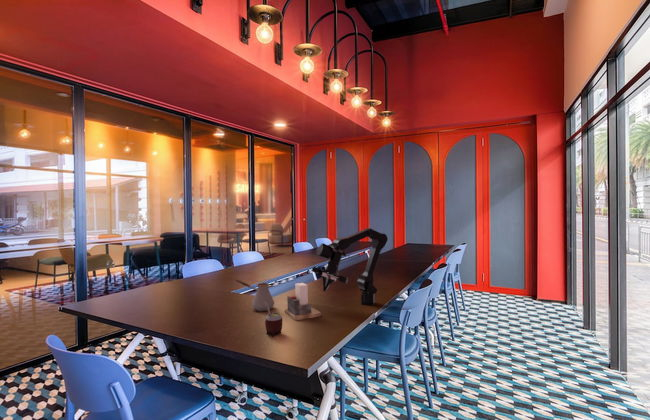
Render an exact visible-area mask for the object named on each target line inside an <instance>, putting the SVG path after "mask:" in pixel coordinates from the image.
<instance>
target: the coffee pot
mask: <svg viewBox="0 0 650 420" xmlns="http://www.w3.org/2000/svg"><path fill="white" fill-rule="evenodd" d="M236 283H239V284H241V285H243V286H246V287H248V288H251V289H253V290H255V291H256V293H255V295H254V297H253V300H252V303H251V306H252V308H253V309H254V310H255V311H258V312H265V311H268V308H267V306H266V304H265V303H264V302H266V303H267V304H268V306H269V310H271V309H272V308H273V307H274V305H275V301H274V298H273V296H272V295H271V292H270V290H269V286H270V283H268V282H261V283H260V282H259V283H256V286H257V288H256V287H254V286H251V285H250V284H248V283H247V282H243V281H241V280H238V279H235V281H234V284H236ZM263 301H264V302H263Z"/></svg>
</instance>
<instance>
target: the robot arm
mask: <svg viewBox="0 0 650 420" xmlns="http://www.w3.org/2000/svg"><path fill="white" fill-rule="evenodd" d="M366 238H369V239H370V240H371V246H372V247H371V251H370V253H369V257H368V259H367V263H366V266H365V269H364V271H363V273H362V274H358V278H357V280H356V282H357V286H358V288H359V289H360V291H361V295H360V303H361V305H365V306H366V305H367V306H374V305H375V304H376V298H375V296H376V294H377V292H378V289H377V288H376V287H375V285H374V283H375V282H374V281H375V280H374V272H375V270H376V266H377V264H378V261H379V257H380V254H381V251H382V250H383V249H384V247H385V246H386V245H387V243H388V241H389V240H388V235H387V234H386V233H383V232H382V233H381V232H379V231H377V230H374V229H373V228H369V227H366V228H364V229H362V230H360V231H357V232H355V233H353V234H350V235H348V236H342V237H337V238H335V239H334V240H333V242H332V243H330V244H326V243H324V242H323V243H321V244H320V245H319V246H318V247H317V249H316V256H318V257H320V258H323V259H326V260H328V259H329V260H328V262H327V265H326V267H325V269H324V270H323V268H320V267H317V266H313V267H312V268H311V270H310V271H311V272H313V273H316V274H318V275H320V277H322V283H323V292H326V291H327V290H328V289H329V287H330V286H331V284H333V283H334V282H335V283H336V282H337V280H338V282H340V283H344V284H348V282H349V278H348V277H346V276H343V275H339V274H340V273H339V272H340V271H339V267H340V264H341V261H342V257H347V255H346V252H345V250H347V249H348V248H349V247H350V246H351V245H352V244H354V243H356V242H359V241H361V240H363V239H366ZM329 277H330V278H329Z"/></svg>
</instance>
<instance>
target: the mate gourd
mask: <svg viewBox="0 0 650 420" xmlns="http://www.w3.org/2000/svg"><path fill="white" fill-rule="evenodd" d="M263 302H264V301H263ZM264 303H265V304H266V306H267V308H268V310H267V311H268V314H267V315H266V317H265V321H264V323H265V324H264V325H265V330H266V333H265V334H266V335H271V337H275V336H276V335H282V329H283V316H282V315H281V314H280V313H278V312H272V313H271V311H270V310H271V309H270V310H269V306H268V304H267V303H266V302H264Z"/></svg>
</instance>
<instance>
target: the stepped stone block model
mask: <svg viewBox="0 0 650 420" xmlns="http://www.w3.org/2000/svg"><path fill="white" fill-rule="evenodd" d="M286 301H287V309H284V313H285V314H286V315H288V316H289V317H290V318H291V319H292V320H293V321H299V320H306V319H314V318H318V317H322V312H320V311H318V310H317V309H316V308H314V307H312V304H311V303H310V304H309V303H308V304H307V305H300V306H299V300H298V299H297V298H296V296H295V295H288V296H287V300H286Z"/></svg>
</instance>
